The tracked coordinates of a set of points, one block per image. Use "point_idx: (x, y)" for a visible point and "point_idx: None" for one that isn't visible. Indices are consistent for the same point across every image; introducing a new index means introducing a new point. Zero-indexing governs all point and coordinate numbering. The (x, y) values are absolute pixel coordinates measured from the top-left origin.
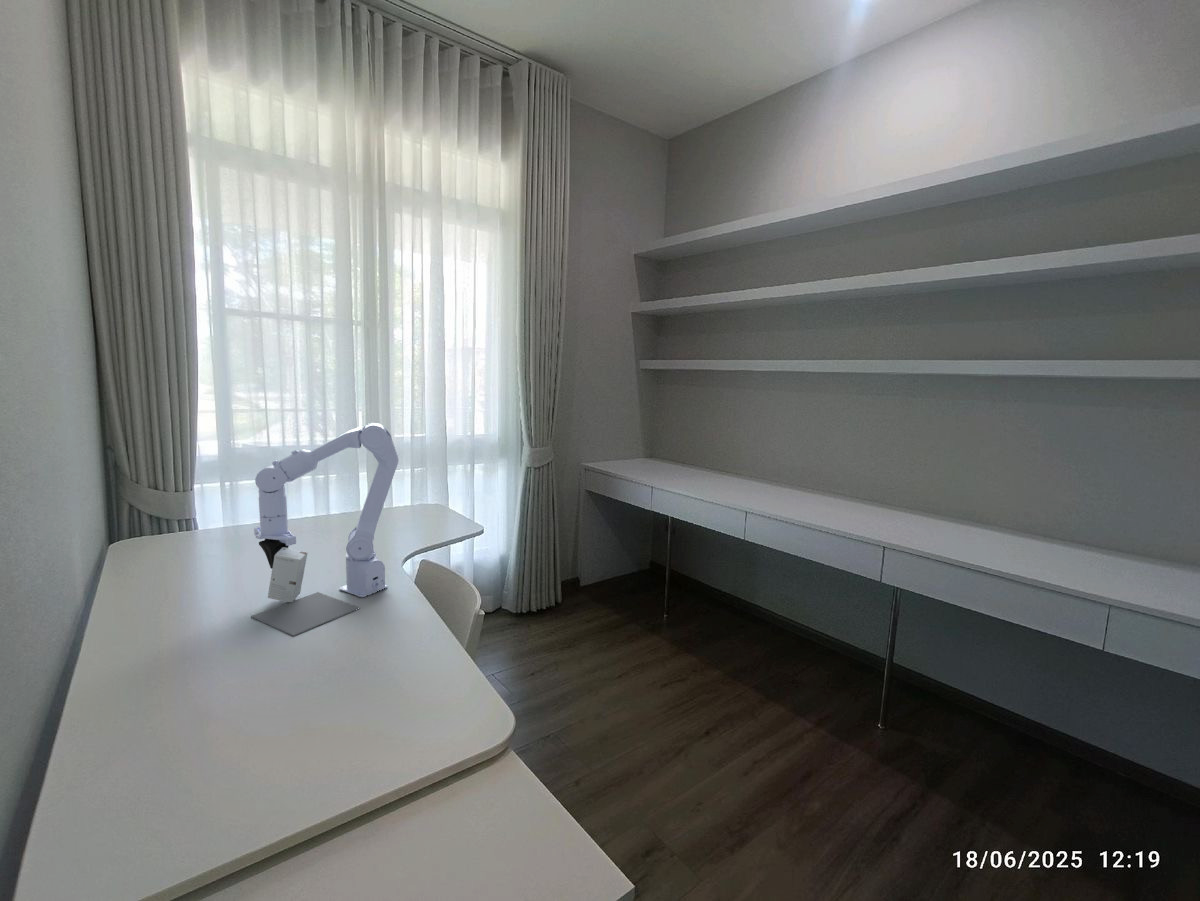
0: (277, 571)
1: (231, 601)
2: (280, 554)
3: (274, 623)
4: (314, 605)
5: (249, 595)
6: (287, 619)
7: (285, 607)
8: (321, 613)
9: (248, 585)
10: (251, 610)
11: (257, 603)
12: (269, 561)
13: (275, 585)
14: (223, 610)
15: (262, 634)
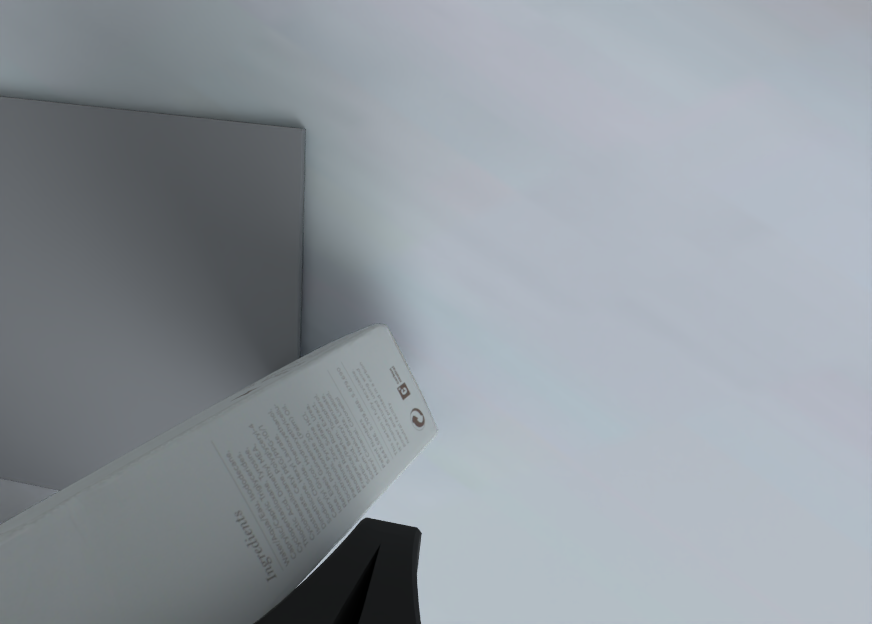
0: (150, 444)
1: (689, 235)
2: None
3: (80, 129)
4: (135, 399)
5: (662, 359)
6: (74, 203)
7: (242, 313)
8: (11, 341)
9: (847, 476)
10: (407, 200)
11: (479, 292)
12: (377, 573)
13: (273, 377)
14: (589, 105)
15: (17, 5)
